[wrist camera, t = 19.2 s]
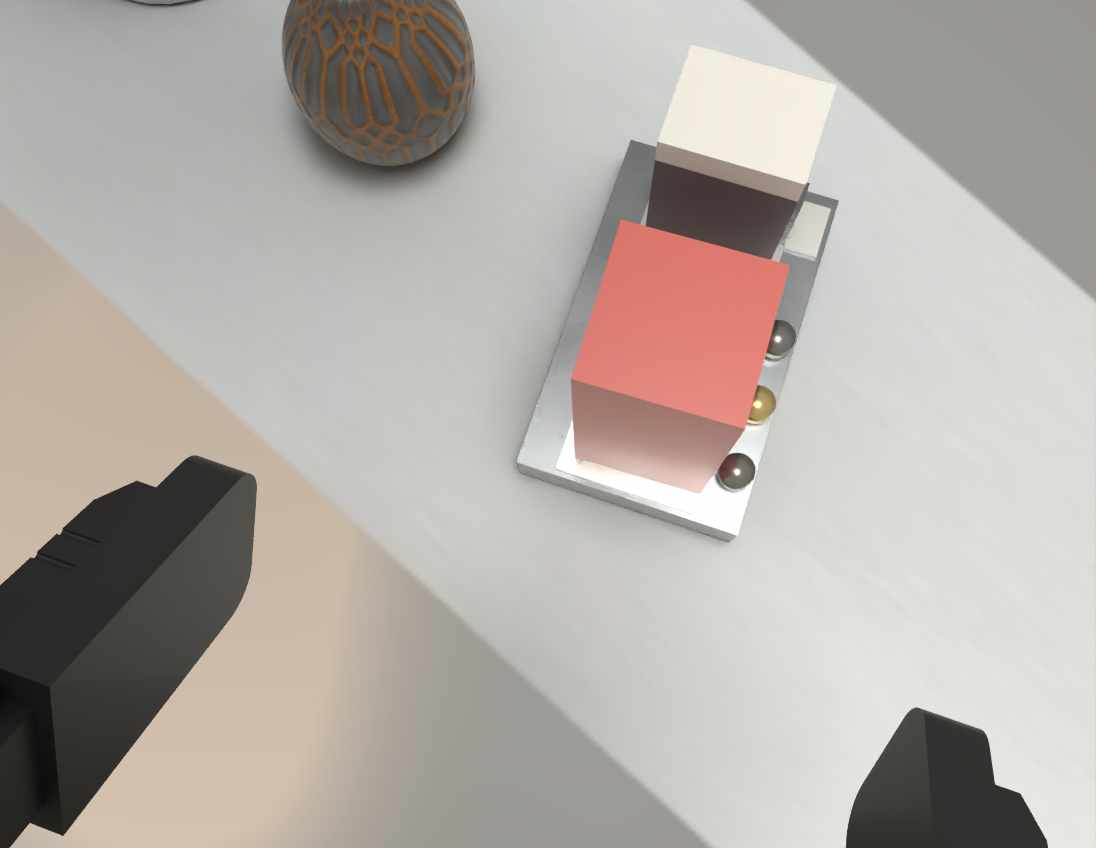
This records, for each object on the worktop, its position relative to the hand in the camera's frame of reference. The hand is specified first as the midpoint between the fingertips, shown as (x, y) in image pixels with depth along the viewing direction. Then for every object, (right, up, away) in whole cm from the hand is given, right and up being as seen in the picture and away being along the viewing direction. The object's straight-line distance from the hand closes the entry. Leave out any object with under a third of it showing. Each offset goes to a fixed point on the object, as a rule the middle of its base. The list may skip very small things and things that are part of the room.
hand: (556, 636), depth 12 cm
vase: (-6, +15, +29) cm, 33 cm away
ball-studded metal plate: (+5, +5, +26) cm, 27 cm away
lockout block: (+4, +3, +24) cm, 24 cm away
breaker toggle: (+6, +8, +24) cm, 26 cm away
